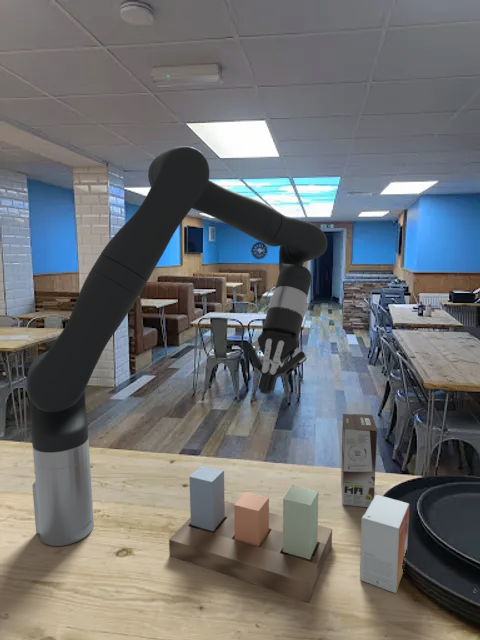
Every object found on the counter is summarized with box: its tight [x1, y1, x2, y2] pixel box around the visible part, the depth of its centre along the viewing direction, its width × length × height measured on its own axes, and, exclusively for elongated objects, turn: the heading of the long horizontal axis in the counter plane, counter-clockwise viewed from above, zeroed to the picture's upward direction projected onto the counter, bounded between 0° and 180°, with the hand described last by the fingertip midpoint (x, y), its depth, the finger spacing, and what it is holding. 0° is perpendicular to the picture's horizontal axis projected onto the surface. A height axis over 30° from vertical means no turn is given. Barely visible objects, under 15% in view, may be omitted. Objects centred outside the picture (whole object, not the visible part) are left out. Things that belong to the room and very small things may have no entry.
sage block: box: [282, 485, 319, 560], centre depth 70 cm, size 4×4×9 cm
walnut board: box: [168, 500, 333, 603], centre depth 74 cm, size 24×14×3 cm, turn 65°
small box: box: [359, 494, 411, 594], centre depth 68 cm, size 8×6×10 cm
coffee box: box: [340, 413, 378, 508], centre depth 90 cm, size 9×6×16 cm
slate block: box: [189, 465, 225, 532], centre depth 77 cm, size 4×4×9 cm
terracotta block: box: [233, 491, 270, 547], centre depth 74 cm, size 4×4×9 cm
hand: (264, 393), depth 85 cm, fingers closed
